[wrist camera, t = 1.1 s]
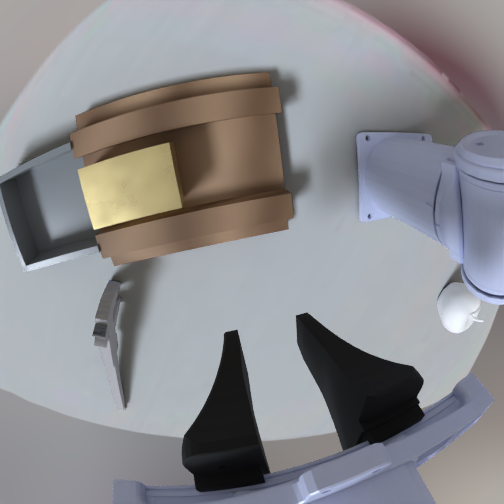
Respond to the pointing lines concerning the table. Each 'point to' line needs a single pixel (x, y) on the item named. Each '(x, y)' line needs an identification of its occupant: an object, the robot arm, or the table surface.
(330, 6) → the table surface
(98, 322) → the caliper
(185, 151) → the slot board
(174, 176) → the block
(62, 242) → the tray
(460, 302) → the plain white apple
